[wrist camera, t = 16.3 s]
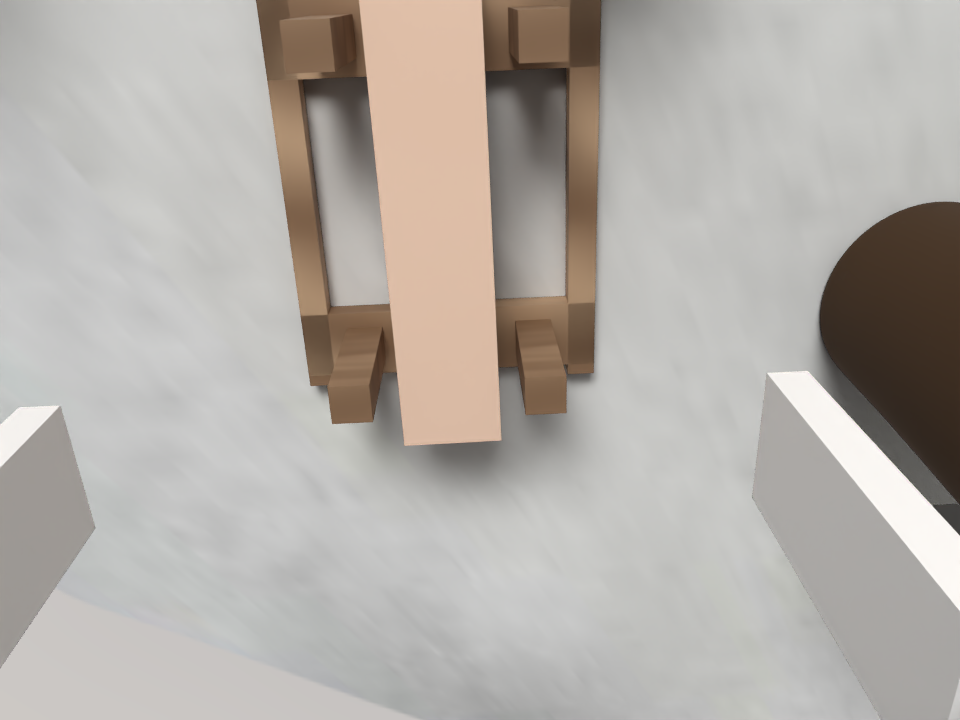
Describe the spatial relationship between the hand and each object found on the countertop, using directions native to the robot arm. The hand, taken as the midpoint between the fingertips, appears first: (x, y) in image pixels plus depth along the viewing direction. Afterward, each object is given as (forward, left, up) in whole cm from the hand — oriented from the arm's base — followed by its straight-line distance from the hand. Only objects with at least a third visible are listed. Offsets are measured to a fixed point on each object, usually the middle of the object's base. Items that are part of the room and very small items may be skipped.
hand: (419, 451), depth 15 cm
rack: (0, 0, -22) cm, 22 cm away
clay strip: (0, 0, -21) cm, 21 cm away
